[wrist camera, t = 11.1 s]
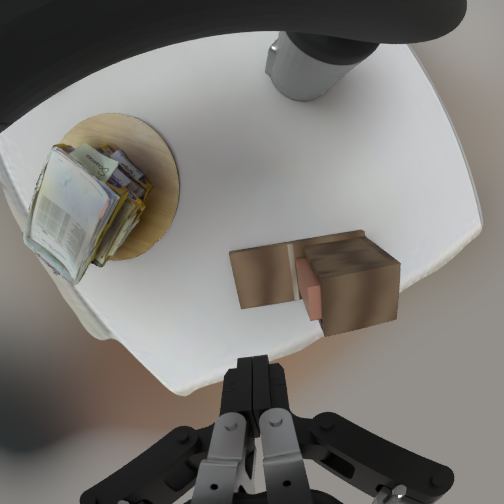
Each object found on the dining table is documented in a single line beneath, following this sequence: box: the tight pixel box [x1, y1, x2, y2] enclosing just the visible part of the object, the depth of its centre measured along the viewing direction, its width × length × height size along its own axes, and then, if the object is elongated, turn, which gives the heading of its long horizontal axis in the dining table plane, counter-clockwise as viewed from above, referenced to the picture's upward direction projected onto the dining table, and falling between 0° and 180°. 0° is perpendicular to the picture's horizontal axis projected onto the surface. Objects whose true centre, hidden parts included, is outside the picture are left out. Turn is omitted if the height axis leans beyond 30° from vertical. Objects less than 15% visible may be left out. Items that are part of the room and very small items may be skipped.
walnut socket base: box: [229, 230, 401, 337], centre depth 38 cm, size 22×10×13 cm, turn 100°
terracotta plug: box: [295, 258, 322, 321], centre depth 38 cm, size 5×5×10 cm
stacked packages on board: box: [23, 113, 179, 285], centre depth 32 cm, size 25×25×17 cm
